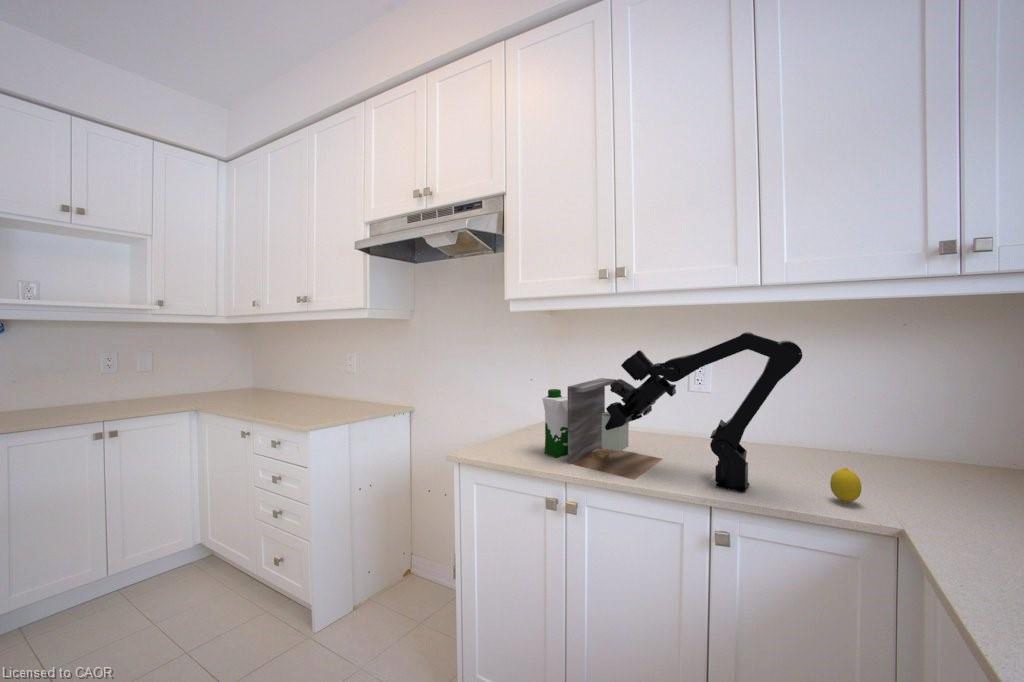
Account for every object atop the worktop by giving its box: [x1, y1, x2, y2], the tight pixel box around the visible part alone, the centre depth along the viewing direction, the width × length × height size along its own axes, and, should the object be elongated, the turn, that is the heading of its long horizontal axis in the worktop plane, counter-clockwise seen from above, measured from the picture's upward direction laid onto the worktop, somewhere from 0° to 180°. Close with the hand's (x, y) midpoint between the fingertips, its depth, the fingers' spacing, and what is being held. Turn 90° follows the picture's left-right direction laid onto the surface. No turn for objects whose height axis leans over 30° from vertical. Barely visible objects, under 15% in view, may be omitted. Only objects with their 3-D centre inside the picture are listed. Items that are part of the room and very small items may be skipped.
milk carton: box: [542, 388, 568, 459], centre depth 132 cm, size 9×9×20 cm
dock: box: [567, 377, 663, 480], centre depth 122 cm, size 20×20×23 cm
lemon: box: [829, 467, 862, 504], centre depth 95 cm, size 6×6×8 cm
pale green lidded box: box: [602, 410, 630, 451], centre depth 122 cm, size 6×6×10 cm
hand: (610, 426), depth 123 cm, fingers closed on pale green lidded box, 6 cm apart
